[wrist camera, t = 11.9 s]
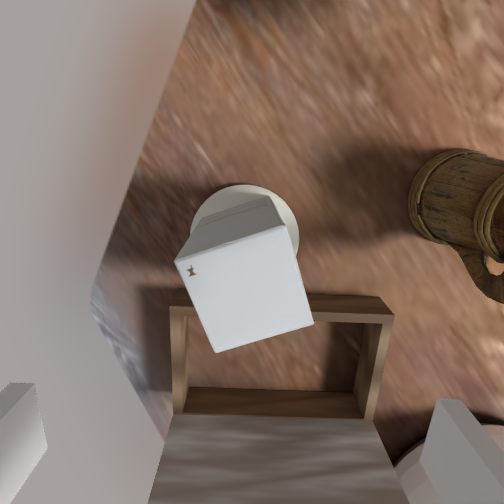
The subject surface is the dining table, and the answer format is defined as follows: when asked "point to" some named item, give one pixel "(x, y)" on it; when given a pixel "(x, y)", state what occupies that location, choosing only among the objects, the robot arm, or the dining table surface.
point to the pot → (415, 477)
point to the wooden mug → (463, 211)
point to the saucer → (242, 195)
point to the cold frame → (279, 428)
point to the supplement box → (244, 275)
